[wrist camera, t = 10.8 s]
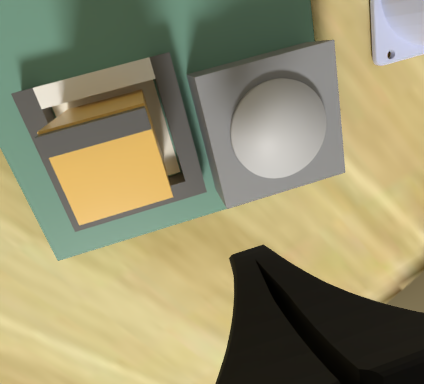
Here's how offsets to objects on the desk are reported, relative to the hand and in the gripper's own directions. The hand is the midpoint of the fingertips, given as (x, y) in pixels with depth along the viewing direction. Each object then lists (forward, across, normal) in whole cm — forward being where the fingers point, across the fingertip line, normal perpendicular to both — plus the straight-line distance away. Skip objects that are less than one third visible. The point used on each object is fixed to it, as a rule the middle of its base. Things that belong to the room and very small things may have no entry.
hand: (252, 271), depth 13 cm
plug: (+9, +4, -4) cm, 11 cm away
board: (+10, +1, -6) cm, 12 cm away
